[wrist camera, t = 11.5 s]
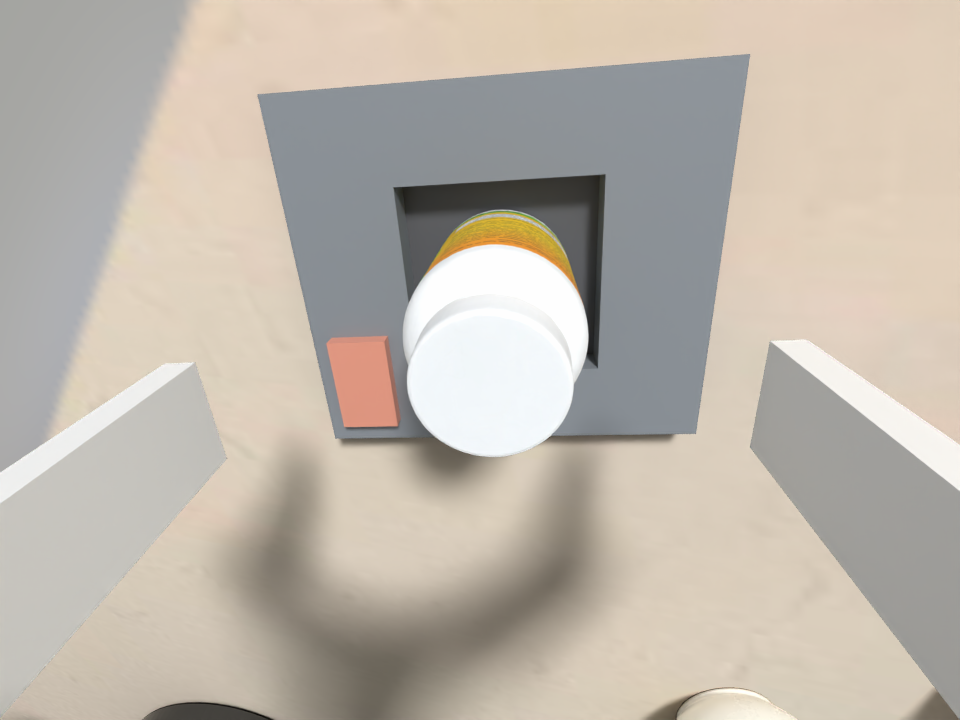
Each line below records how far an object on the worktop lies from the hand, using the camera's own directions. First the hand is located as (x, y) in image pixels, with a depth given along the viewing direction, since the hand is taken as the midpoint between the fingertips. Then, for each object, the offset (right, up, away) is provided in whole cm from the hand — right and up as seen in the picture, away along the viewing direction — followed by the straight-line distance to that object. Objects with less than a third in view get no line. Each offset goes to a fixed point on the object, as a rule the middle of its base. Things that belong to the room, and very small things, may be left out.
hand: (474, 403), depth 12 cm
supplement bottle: (+1, +5, +9) cm, 10 cm away
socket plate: (+1, +5, +9) cm, 10 cm away
